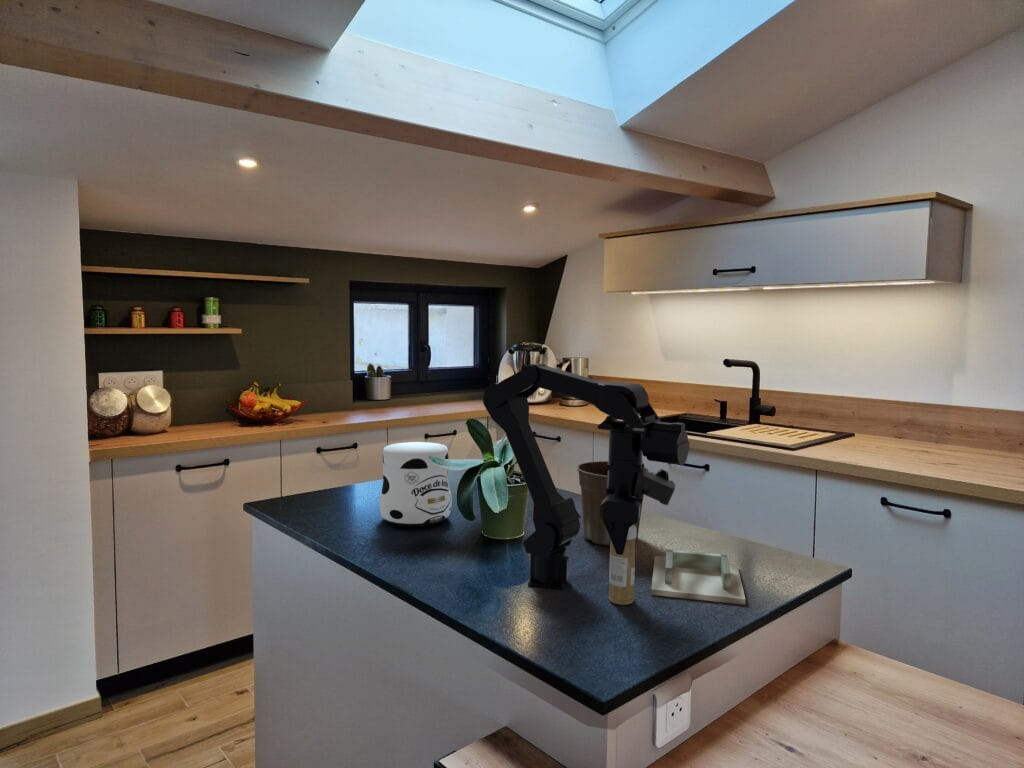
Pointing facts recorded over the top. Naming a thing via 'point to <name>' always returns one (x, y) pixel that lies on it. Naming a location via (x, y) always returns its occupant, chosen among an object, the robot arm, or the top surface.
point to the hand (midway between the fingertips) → (622, 545)
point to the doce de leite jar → (414, 485)
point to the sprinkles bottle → (623, 571)
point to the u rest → (697, 577)
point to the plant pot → (596, 500)
